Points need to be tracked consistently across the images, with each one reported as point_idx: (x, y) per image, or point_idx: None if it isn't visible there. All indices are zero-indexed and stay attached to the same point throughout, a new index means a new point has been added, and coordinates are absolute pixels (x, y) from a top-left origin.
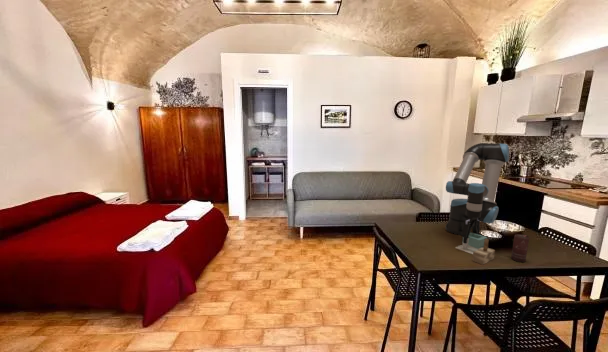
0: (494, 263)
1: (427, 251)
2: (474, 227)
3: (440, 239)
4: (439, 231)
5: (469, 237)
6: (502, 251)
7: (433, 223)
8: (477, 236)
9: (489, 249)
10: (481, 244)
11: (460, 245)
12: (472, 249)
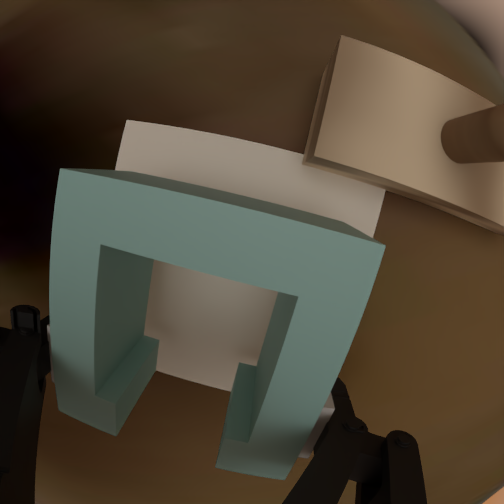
0: None
1: (469, 460)
2: (23, 456)
3: (201, 486)
4: (71, 479)
5: (319, 411)
6: (67, 71)
7: None
8: (104, 317)
9: (378, 93)
10: (283, 208)
11: (215, 386)
12: (235, 284)
